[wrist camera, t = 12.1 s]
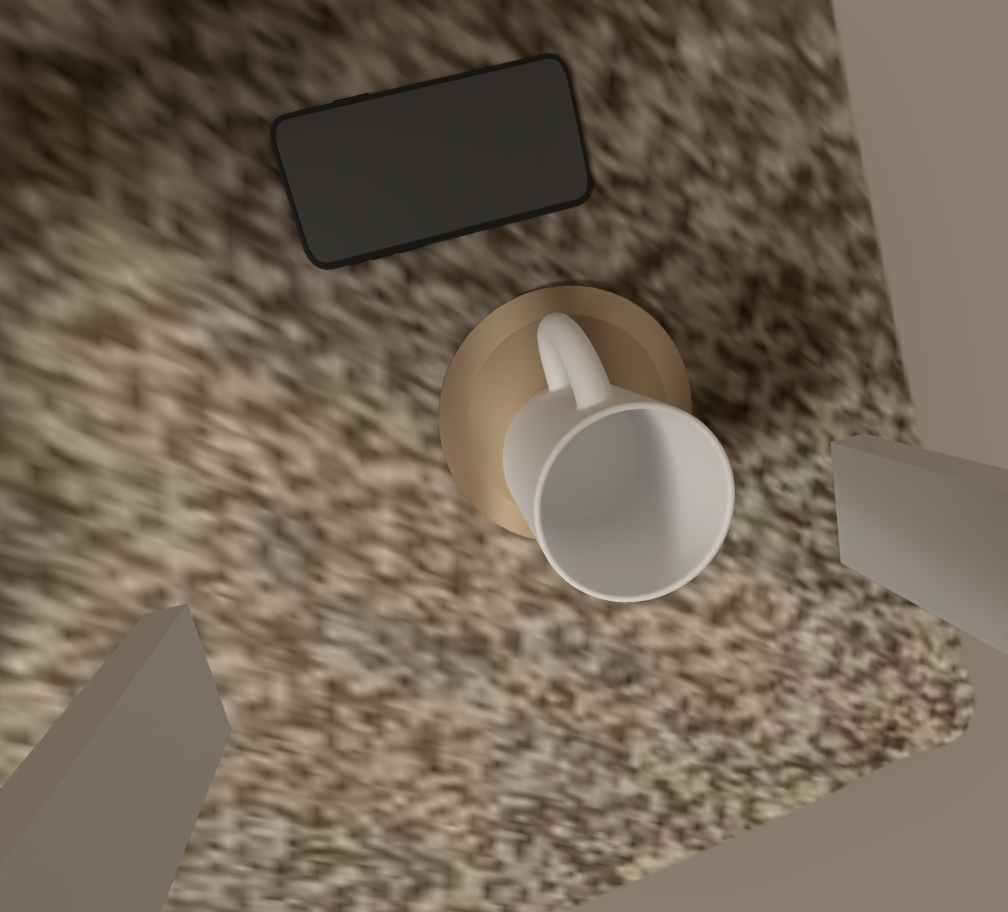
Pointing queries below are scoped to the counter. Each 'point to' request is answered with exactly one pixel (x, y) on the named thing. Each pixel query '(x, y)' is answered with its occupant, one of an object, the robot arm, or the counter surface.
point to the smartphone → (432, 160)
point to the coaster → (541, 381)
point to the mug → (614, 477)
